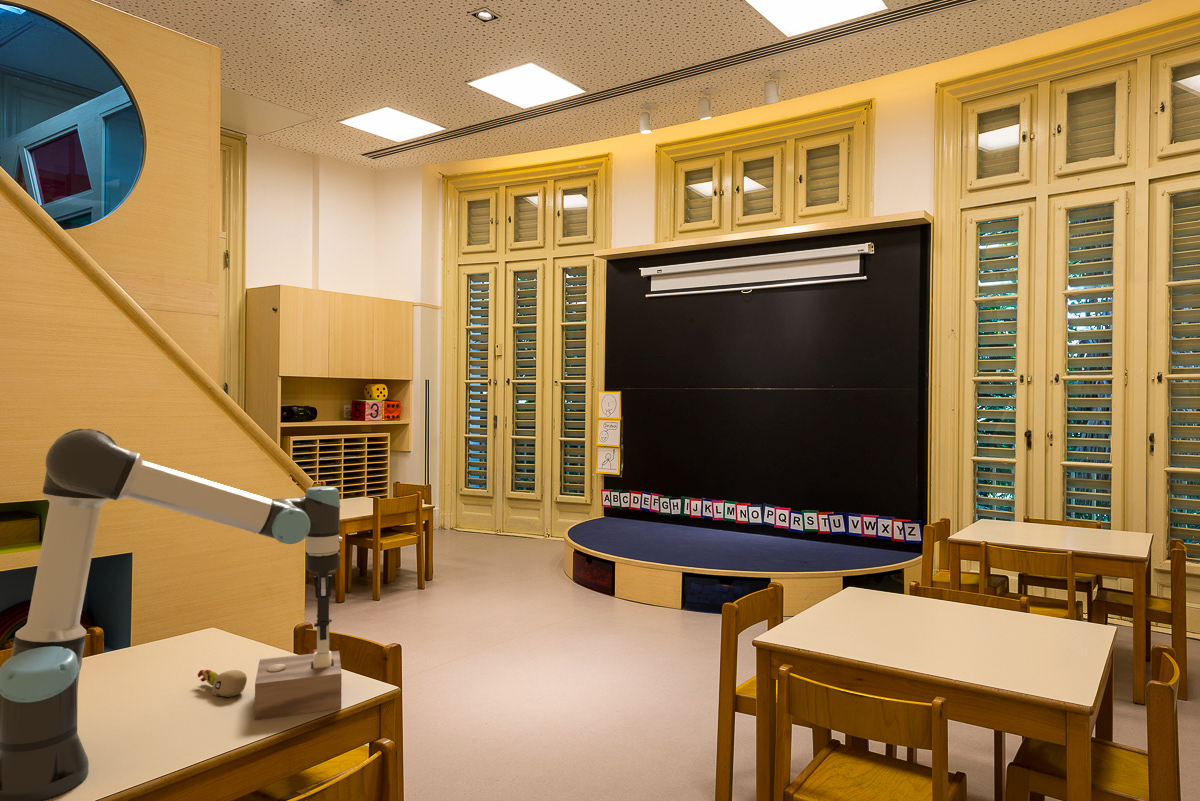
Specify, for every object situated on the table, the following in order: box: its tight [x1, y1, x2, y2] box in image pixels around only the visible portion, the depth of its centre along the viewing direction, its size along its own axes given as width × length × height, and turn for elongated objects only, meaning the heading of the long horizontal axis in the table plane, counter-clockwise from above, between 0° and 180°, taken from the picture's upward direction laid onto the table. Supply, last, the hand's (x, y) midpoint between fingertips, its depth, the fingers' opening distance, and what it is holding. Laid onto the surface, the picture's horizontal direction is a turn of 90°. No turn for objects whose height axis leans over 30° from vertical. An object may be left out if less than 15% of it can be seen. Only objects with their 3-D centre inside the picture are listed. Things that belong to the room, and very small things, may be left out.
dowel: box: [313, 650, 332, 668], centre depth 177 cm, size 4×4×8 cm
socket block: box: [254, 650, 343, 721], centre depth 175 cm, size 16×18×8 cm
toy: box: [197, 669, 248, 698], centre depth 181 cm, size 6×7×15 cm
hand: (323, 651), depth 177 cm, fingers closed
